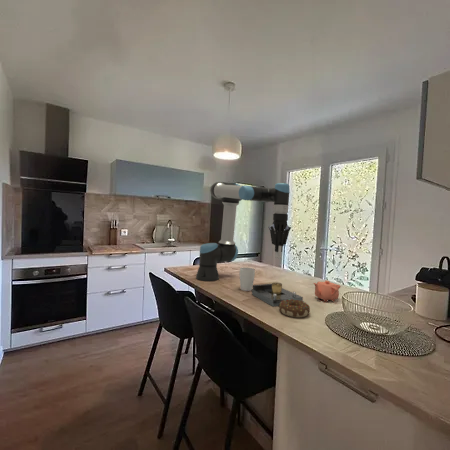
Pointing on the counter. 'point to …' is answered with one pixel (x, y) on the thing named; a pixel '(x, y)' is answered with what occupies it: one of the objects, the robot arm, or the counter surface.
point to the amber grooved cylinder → (276, 288)
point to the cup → (246, 278)
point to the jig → (273, 299)
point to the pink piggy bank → (327, 291)
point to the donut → (294, 308)
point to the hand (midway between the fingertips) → (278, 258)
